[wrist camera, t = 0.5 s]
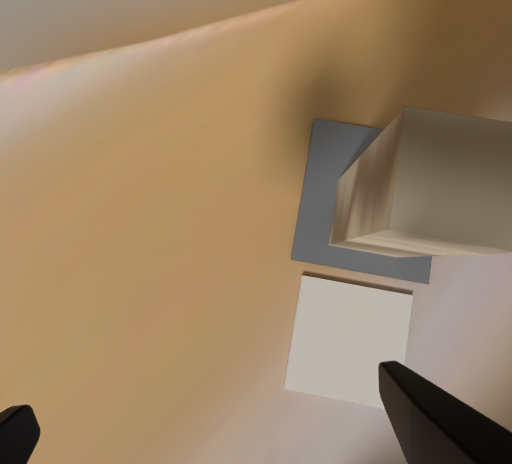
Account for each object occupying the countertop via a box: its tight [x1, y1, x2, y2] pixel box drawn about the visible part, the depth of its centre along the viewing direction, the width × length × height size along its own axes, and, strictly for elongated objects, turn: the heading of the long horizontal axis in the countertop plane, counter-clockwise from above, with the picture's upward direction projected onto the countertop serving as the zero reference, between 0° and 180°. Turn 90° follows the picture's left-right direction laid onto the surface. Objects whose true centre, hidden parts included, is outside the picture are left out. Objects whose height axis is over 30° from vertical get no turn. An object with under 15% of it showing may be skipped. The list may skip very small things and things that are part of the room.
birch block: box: [328, 106, 512, 257], centre depth 16 cm, size 5×5×10 cm
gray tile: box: [291, 119, 432, 284], centre depth 21 cm, size 11×10×1 cm
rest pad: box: [284, 275, 413, 409], centre depth 20 cm, size 8×8×1 cm
